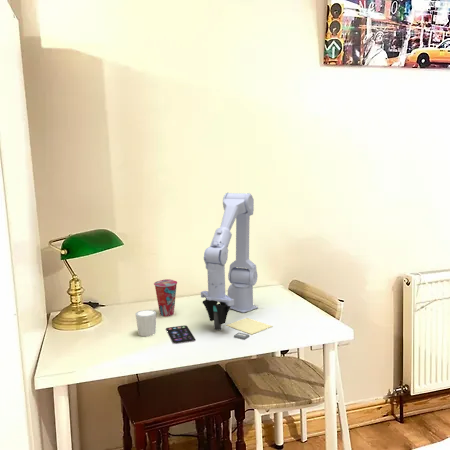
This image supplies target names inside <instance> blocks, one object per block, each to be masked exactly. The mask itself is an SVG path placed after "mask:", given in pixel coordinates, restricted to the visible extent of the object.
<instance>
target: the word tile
mask: <svg viewBox="0 0 450 450" xmlns="http://www.w3.org/2000/svg"><path fill="white" fill-rule="evenodd" d="M249 337H250V334H248V333H244V332H243V333H242V332H237V333H236V334H234V335H233V338H236V339H241V340H246V339H248V338H249Z"/></svg>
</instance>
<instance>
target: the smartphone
mask: <svg viewBox="0 0 450 450" xmlns="http://www.w3.org/2000/svg"><path fill="white" fill-rule="evenodd" d="M165 331H166V333H167V335H168V337H169V339H170V341H171V343H172V345H179V344H186V343H187V344H188V343H195V342H196V339H197V338H195V336H194V335H193V332H192V331H191V329H190V328H189V326H188V325H187V324H185V325H177V326H171V327H169V326H168V327H166V328H165ZM167 331H168V332H167Z"/></svg>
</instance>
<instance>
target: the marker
mask: <svg viewBox="0 0 450 450" xmlns="http://www.w3.org/2000/svg"><path fill="white" fill-rule="evenodd" d="M213 311H214V320H213V330H215V331H220V330H222V324H221V325H220V324H219V318H218V312H217V309H216V306H215V305H214V306H213Z"/></svg>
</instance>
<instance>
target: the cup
mask: <svg viewBox="0 0 450 450" xmlns="http://www.w3.org/2000/svg"><path fill="white" fill-rule="evenodd" d="M177 284H178V281H177V280H174V279H170V278H169V279H167V278H166V279H165V278H164V279H162V280H161V279H160V280H158V281H155V282H154V283H153V285H154V288H155V294H156V301H157V305H158V309H159V310H158V311H159V315H160V316H161V317H165V318H166V317H167V318H168V317H171V316H174V315H175V307H176V296H177V295H176V294H177Z"/></svg>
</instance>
